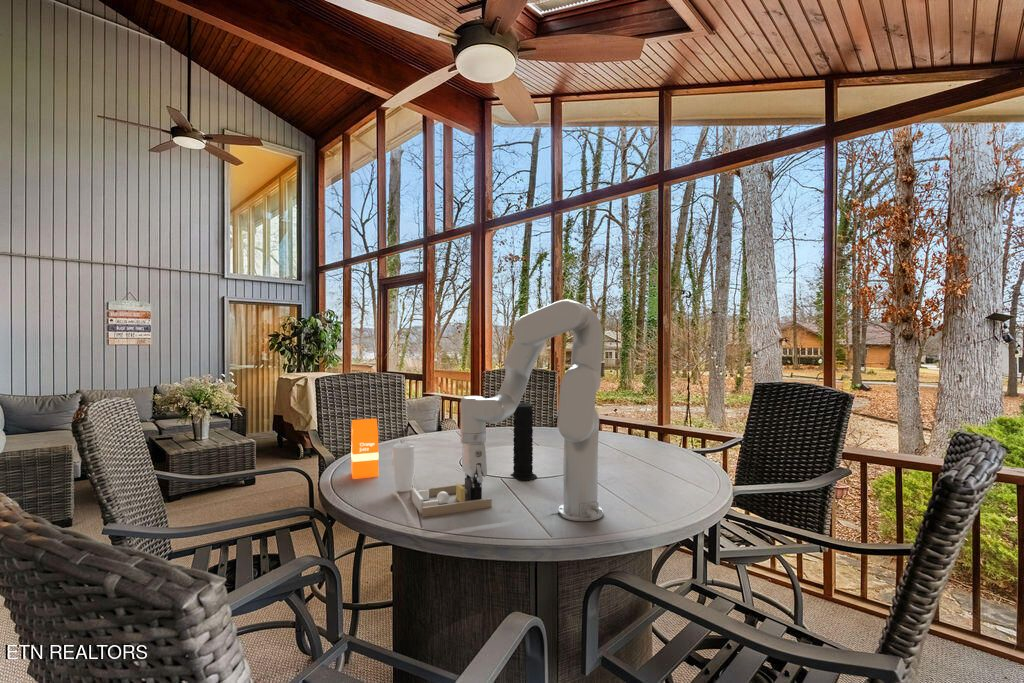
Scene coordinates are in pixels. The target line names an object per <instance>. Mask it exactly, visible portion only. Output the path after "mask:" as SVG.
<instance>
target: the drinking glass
mask: <svg viewBox="0 0 1024 683" xmlns="http://www.w3.org/2000/svg"><path fill="white" fill-rule="evenodd" d="M392 464H393V465H392V466H393V475H394V491H395V493H396V494H398V492H400V493H401V492H410V490H412V488H413V478H414V468H415V467H414V466H415V445H414V444H413V443H408V442H404V443H396V444H393V446H392Z"/></svg>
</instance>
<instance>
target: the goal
mask: <svg viewBox="0 0 1024 683" xmlns="http://www.w3.org/2000/svg"><path fill="white" fill-rule="evenodd" d="M416 489H417V488H415V487H412V499H411V502H412V504H413V505H414V506H415V508H416V509H417V511H418V512H419V513H420V514H422V507H428V506H436V505H439V502H438V500H437V499H435V500H430V496H429V489H427V490H419V491H417V490H416Z"/></svg>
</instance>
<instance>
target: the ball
mask: <svg viewBox="0 0 1024 683" xmlns="http://www.w3.org/2000/svg"><path fill="white" fill-rule="evenodd" d="M436 500H438V504H439V505H443V504H448V501H449V500H450V494H448V493H447V492H445V491H442V492H439V493H438V495H436Z"/></svg>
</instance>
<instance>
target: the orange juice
mask: <svg viewBox="0 0 1024 683" xmlns="http://www.w3.org/2000/svg"><path fill="white" fill-rule="evenodd" d="M350 435H351V437H350V443H351V444H350V447H351V448H350V455H351V456H350V458H351V460H350V464H351V465H350V469H351V470H350V471H351V472H350V473H351V477H352V480H354V479H356V480H357V479H358V480H359V479H366V478H377V477H378V478H379V459H380V458H379V453H380V452H379V429H378V419H377V418H363V419H352V420H351V432H350Z"/></svg>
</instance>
